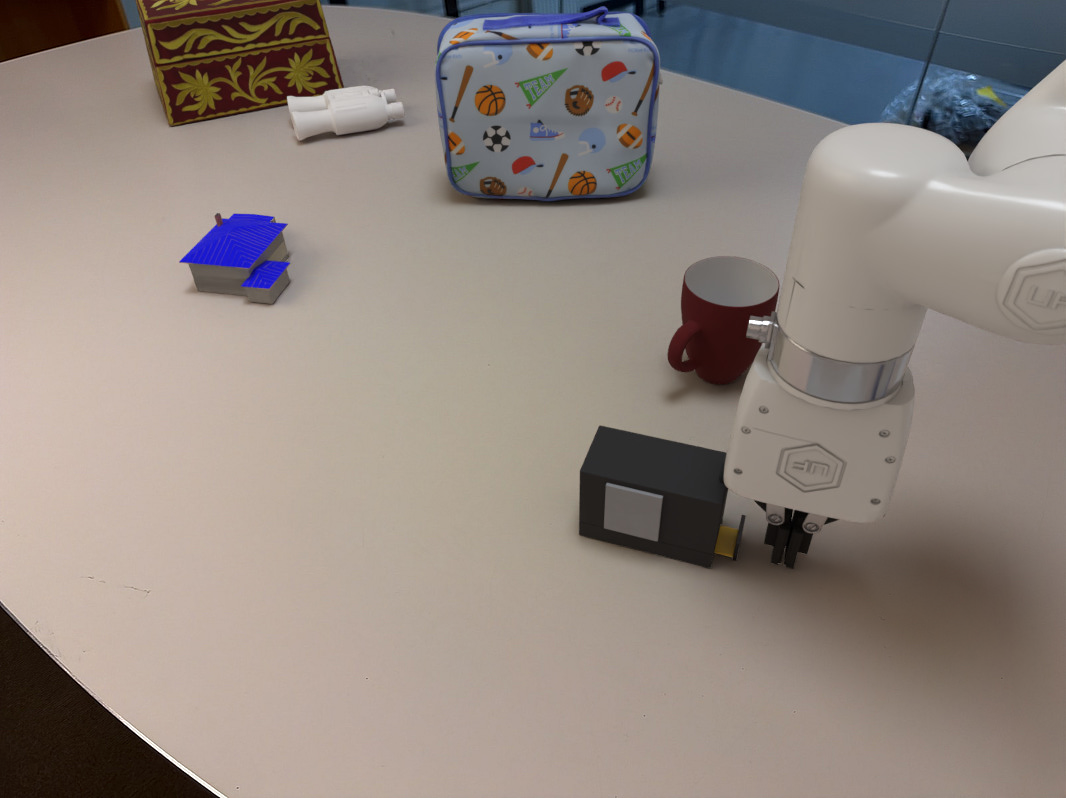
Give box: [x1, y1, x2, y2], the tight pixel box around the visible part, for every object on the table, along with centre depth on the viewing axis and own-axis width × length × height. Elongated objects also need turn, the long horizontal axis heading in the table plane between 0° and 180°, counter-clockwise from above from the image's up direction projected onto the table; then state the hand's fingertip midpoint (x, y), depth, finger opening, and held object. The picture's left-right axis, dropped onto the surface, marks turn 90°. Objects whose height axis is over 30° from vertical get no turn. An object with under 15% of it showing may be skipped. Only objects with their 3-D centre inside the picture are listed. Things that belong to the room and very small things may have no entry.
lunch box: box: [434, 5, 664, 202], centre depth 97 cm, size 28×10×22 cm, turn 92°
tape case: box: [578, 425, 729, 569], centre depth 59 cm, size 10×6×7 cm, turn 70°
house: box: [178, 212, 291, 305], centre depth 90 cm, size 11×14×6 cm
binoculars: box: [287, 85, 405, 141], centre depth 120 cm, size 10×16×5 cm, turn 109°
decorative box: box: [134, 0, 345, 127], centre depth 129 cm, size 28×19×15 cm
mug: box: [667, 255, 781, 386], centre depth 71 cm, size 10×8×10 cm
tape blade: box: [714, 514, 747, 562], centre depth 60 cm, size 10×3×2 cm, turn 70°
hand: (784, 550), depth 58 cm, fingers closed
